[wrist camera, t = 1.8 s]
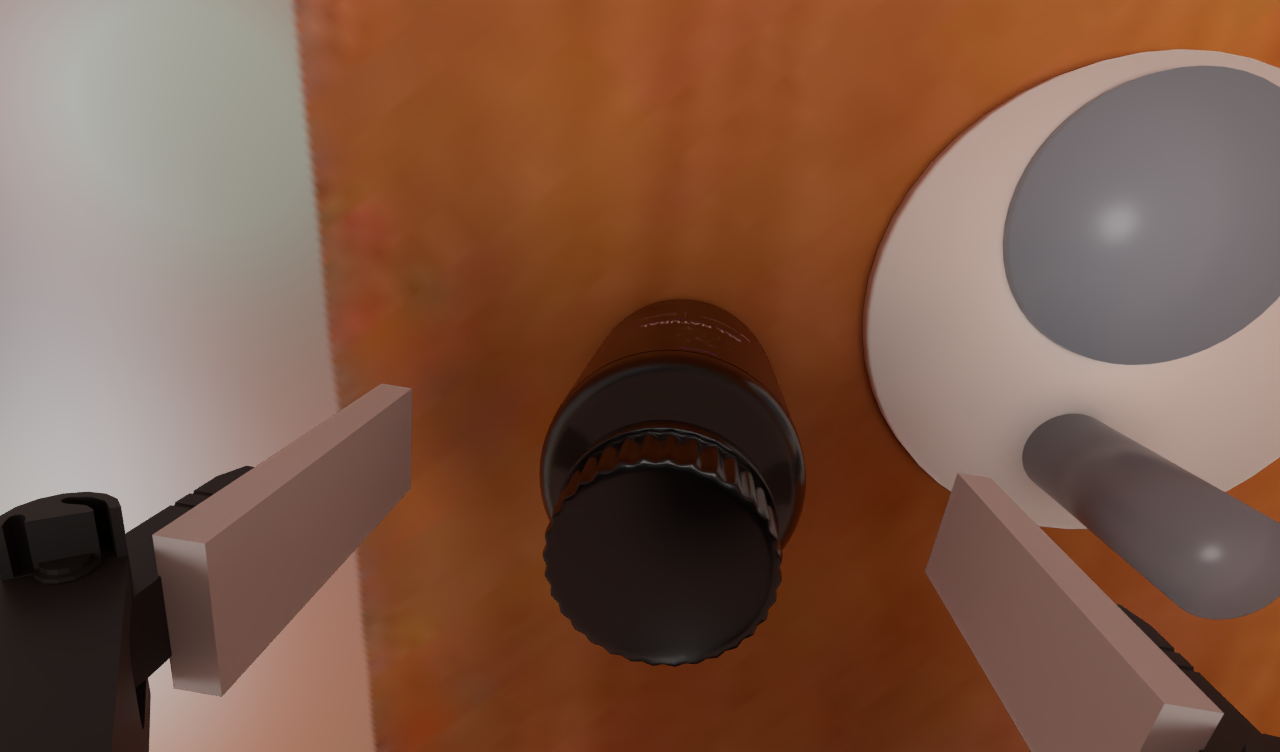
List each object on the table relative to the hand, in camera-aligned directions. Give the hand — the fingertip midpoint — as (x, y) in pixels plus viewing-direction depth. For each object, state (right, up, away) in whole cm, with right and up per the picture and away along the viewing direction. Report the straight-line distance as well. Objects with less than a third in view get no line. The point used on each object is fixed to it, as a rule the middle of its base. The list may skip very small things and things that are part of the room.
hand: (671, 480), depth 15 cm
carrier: (+15, +5, +7) cm, 17 cm away
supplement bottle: (+1, +2, +9) cm, 9 cm away
